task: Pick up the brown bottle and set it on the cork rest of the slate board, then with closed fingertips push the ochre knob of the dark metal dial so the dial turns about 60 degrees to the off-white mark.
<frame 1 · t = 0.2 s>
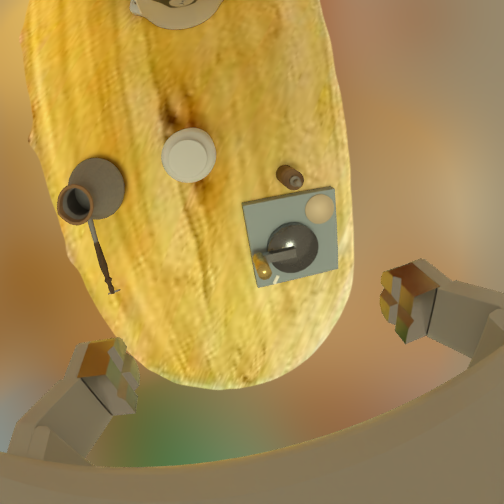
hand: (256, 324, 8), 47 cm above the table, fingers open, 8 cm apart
coffee pot: (109, 208, 52), on the table
brown bottle: (284, 173, 55), on the table
dial: (289, 256, 55), point 6 cm above the table, hinge at 0.0°
board: (292, 236, 61), on the table
pill bottle: (191, 148, 50), on the table
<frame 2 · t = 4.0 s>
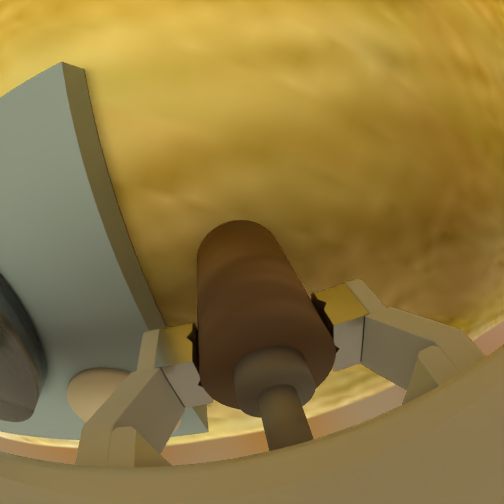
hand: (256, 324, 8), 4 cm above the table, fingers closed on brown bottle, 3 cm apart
brown bottle: (239, 260, 12), on the table, touching gripper
board: (6, 315, 11), on the table
when the fingers open (7 cm above the table, at t = 8.2 s): brown bottle stays where it is, resting on board.
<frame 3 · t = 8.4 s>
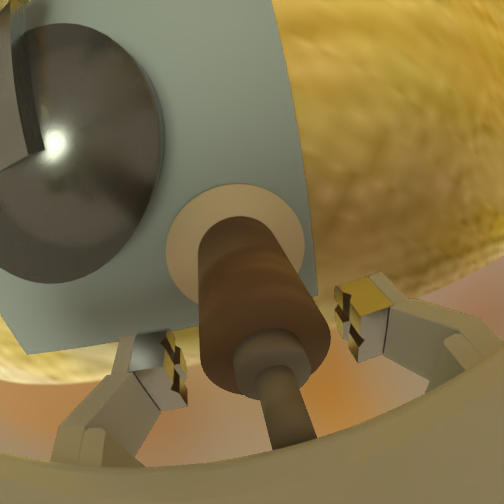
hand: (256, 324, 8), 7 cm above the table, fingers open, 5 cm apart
brown bottle: (238, 254, 13), point 2 cm above the table, touching board
board: (93, 157, 12), on the table
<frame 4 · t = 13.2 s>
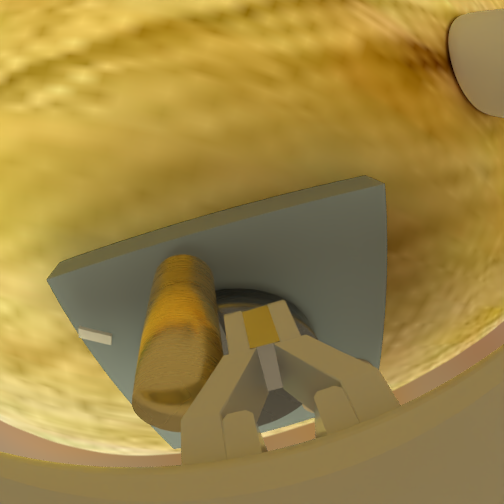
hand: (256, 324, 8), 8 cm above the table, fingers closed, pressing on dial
dial: (230, 399, 12), point 6 cm above the table, hinge at 2.6°, touching gripper
board: (246, 342, 19), on the table
pill bottle: (477, 63, 13), on the table
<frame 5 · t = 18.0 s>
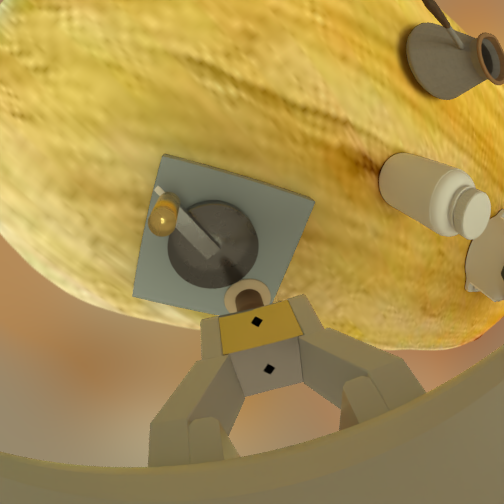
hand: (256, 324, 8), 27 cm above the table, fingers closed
coffee pot: (400, 46, 28), on the table
brown bottle: (248, 300, 38), point 2 cm above the table, touching board
dial: (203, 247, 30), point 6 cm above the table, hinge at 57.1°
board: (217, 244, 37), on the table
pill bottle: (399, 179, 37), on the table
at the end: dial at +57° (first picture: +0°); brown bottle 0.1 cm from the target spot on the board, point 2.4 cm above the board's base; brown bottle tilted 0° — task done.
